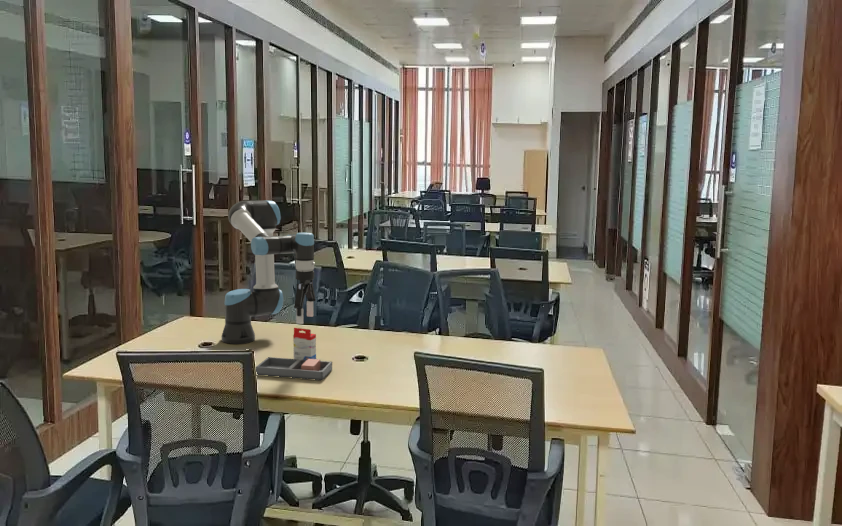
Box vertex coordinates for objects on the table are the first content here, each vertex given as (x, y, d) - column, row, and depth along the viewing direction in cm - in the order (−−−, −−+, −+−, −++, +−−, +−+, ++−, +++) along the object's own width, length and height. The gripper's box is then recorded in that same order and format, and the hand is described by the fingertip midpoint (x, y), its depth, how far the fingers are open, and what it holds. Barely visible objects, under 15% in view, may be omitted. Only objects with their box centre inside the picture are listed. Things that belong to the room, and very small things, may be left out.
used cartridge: (301, 375, 269) (301, 365, 268) (308, 368, 278) (308, 358, 277) (313, 375, 268) (313, 366, 268) (320, 369, 277) (320, 359, 276)
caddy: (255, 375, 269) (255, 366, 269) (268, 365, 283) (268, 357, 282) (322, 380, 266) (322, 371, 265) (332, 370, 279) (332, 361, 278)
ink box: (316, 360, 291) (316, 327, 289) (310, 363, 286) (311, 329, 284) (298, 358, 294) (298, 325, 291) (292, 361, 289) (292, 327, 287)
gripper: (304, 275, 271) (304, 327, 274) (322, 265, 295) (322, 313, 299) (286, 274, 272) (286, 326, 275) (305, 265, 296) (305, 313, 300)
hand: (305, 319), depth 287 cm, fingers open, 13 cm apart
